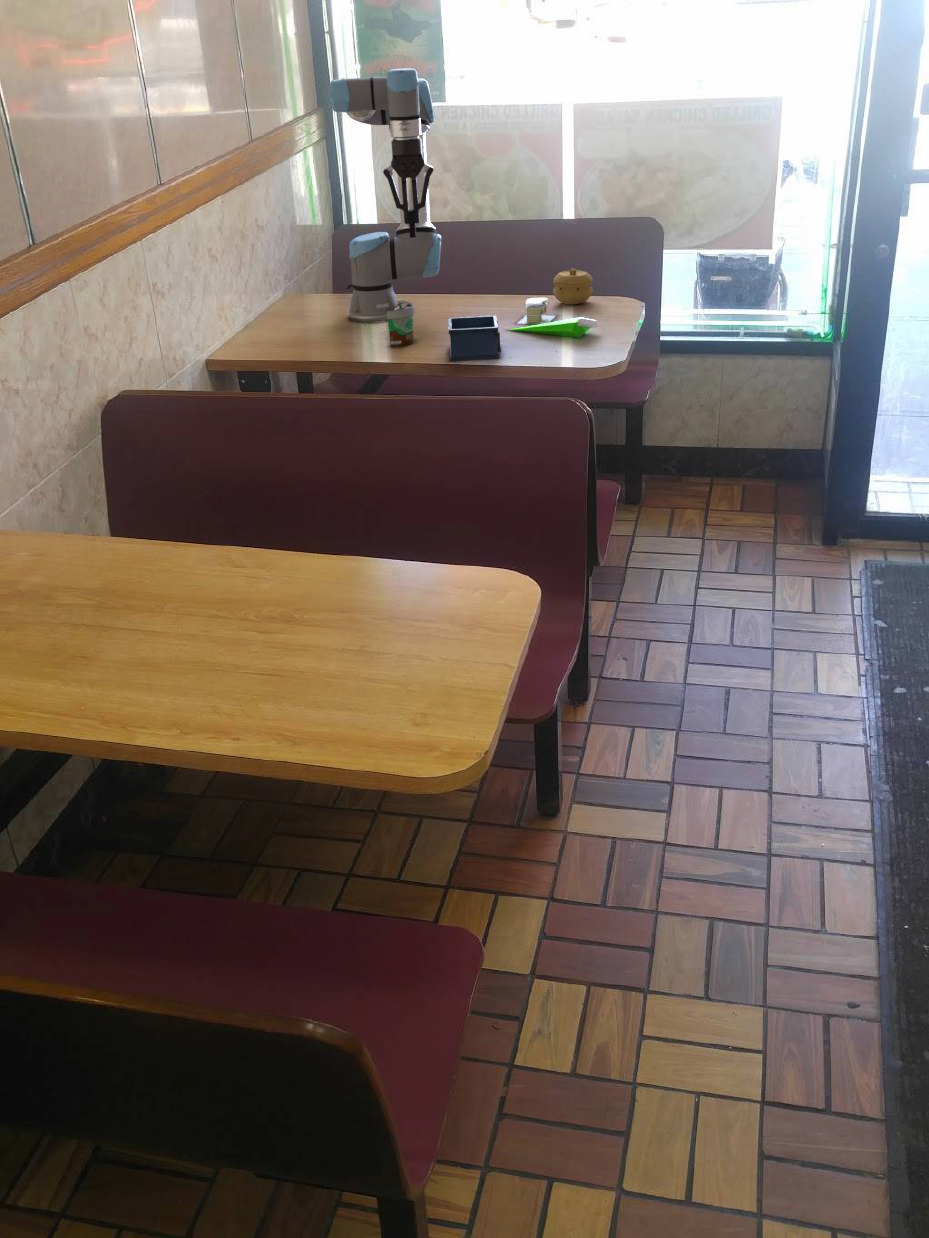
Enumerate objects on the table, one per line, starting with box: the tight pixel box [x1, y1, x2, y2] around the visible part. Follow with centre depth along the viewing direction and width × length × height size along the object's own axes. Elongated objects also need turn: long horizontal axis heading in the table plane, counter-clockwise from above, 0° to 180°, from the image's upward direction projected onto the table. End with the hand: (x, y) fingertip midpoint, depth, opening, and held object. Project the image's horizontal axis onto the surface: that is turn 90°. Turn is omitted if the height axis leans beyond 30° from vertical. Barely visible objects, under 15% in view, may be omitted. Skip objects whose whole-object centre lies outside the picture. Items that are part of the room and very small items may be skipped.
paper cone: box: [509, 316, 599, 339], centre depth 308 cm, size 11×5×25 cm
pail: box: [447, 314, 502, 362], centre depth 294 cm, size 13×8×13 cm
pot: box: [552, 268, 594, 305], centre depth 336 cm, size 12×12×10 cm
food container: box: [387, 300, 417, 348], centre depth 306 cm, size 12×6×10 cm, turn 168°
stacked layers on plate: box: [516, 297, 557, 325], centre depth 321 cm, size 10×9×6 cm
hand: (412, 236), depth 291 cm, fingers closed
